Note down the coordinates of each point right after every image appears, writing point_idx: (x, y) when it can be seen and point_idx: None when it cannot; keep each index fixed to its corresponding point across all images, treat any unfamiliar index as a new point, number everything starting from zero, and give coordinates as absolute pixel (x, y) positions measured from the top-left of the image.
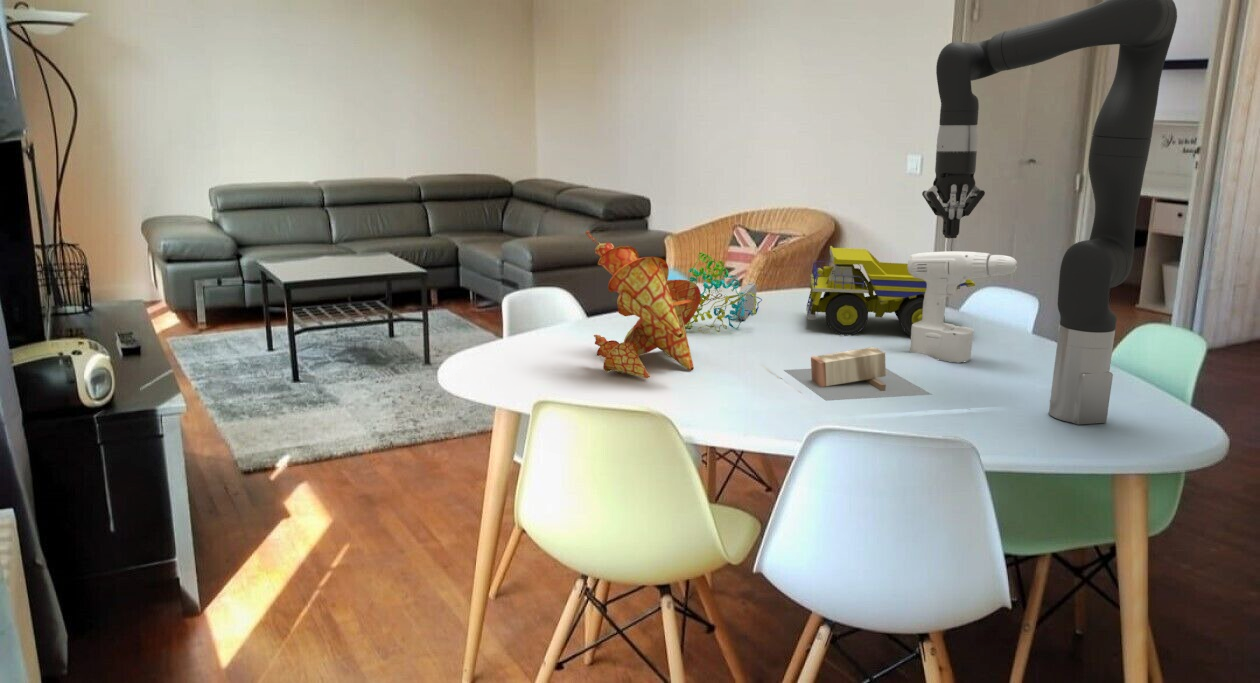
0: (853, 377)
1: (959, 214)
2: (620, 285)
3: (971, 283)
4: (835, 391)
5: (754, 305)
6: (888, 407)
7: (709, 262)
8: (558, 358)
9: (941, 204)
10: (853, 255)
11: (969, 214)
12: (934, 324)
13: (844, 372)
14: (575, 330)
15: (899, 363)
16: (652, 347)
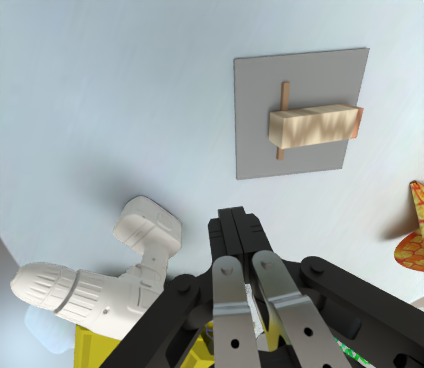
0: (310, 108)
1: (228, 273)
2: None
3: (80, 325)
4: (338, 84)
5: (258, 341)
6: (301, 29)
7: (357, 358)
8: None
9: (361, 309)
10: None
11: (172, 280)
12: (158, 240)
13: (325, 108)
14: (419, 288)
15: (205, 197)
16: (409, 237)
